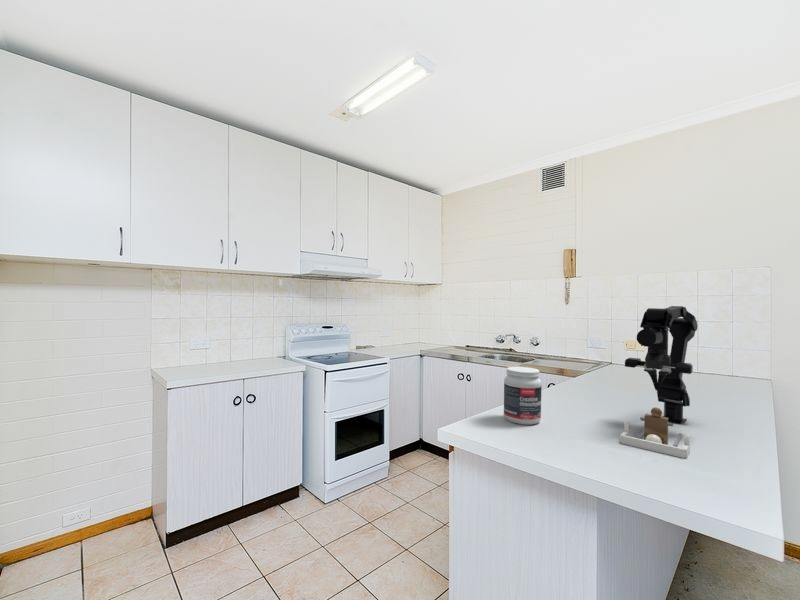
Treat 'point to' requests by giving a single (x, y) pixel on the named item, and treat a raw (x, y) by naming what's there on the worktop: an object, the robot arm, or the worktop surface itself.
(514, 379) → the supplement tub
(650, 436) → the ball
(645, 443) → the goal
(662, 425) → the figure
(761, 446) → the worktop surface
